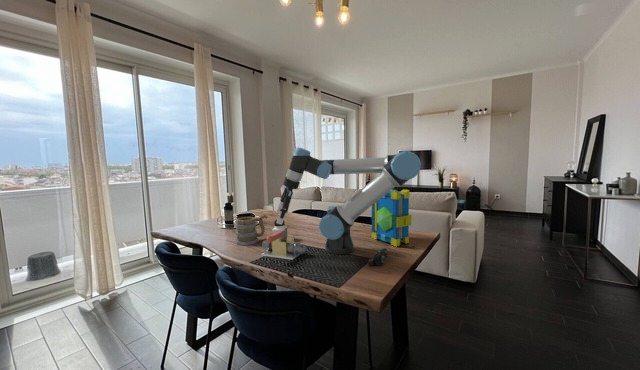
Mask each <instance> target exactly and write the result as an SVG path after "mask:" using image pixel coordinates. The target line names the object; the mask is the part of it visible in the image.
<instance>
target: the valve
mask: <svg viewBox="0 0 640 370" xmlns="http://www.w3.org/2000/svg"><path fill="white" fill-rule="evenodd" d="M261 248H262V249H263V250H265V251H263V252H261V253H260V254H261V256H262V257H270V258H278V259H285V260H292V261H294V260H295V259H296V258H298V257H299V256H300V255H304V254H305V253H306V248H307V247H306V245H305V244H302V243H301V242H299V241H296V242H295V239H294V237H287V239H286V240H279V239H277V240H275V241H273V242H270V243H268V242H267V239H265V240H263V241H262V243H261Z"/></svg>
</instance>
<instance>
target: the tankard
mask: <svg viewBox="0 0 640 370" xmlns="http://www.w3.org/2000/svg"><path fill="white" fill-rule="evenodd" d="M268 217H269V216H268V215H265V214H263V215H260V216H259V217H253V216H245V217H238V218H236V219H235V223H234V227H235V228H236V230H235V236H236V239H234V244H236V245H238V246H250V245H254V244H256V243H258V242H259V238H260V237H263V236H264V234H265V232H266V228H265V226H264V223H263V221H264V220H263V219H266V220H267V219H268ZM257 221H258V225H259V227H260V232H259V233H257V232H258V231H257V230H256V228H257Z"/></svg>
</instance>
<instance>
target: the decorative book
mask: <svg viewBox="0 0 640 370" xmlns="http://www.w3.org/2000/svg"><path fill="white" fill-rule="evenodd" d="M409 199H410V189H402V190H401V191H398V190H397V189H392V190H390V191H389V192H388V193H387V194H385V195H384V196H383V197H382V198H381V199H379V200H378V201H377V202H376V203H374V204H373V205H372V206H371V235H370V236H371V239H372V238H374V239H378V240H380V241H383V242H386V243H389V244H390V246H391V245H394V246H396V247H397V246H398V247H399V246H400V245H401V243H403V244H406V245H408V244H407V243H409V242H410V237H409V226H412V214H409V209H410V208H409V207H410V206H409V204H410V203H409V202H410V200H409ZM374 239H373V240H374ZM409 244H410V243H409ZM396 247H395V248H396ZM398 247H397V248H398Z"/></svg>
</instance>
